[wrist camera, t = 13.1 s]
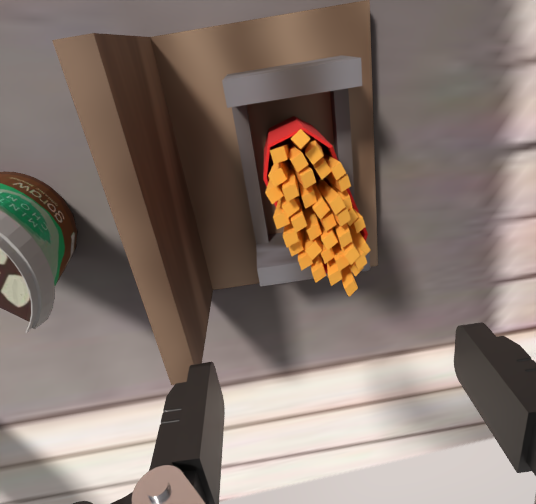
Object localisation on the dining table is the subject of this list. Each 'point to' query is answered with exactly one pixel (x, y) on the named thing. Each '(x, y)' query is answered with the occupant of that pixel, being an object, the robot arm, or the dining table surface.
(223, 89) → the wooden shelf
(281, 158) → the french fries
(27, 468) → the dining table surface
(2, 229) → the food container
